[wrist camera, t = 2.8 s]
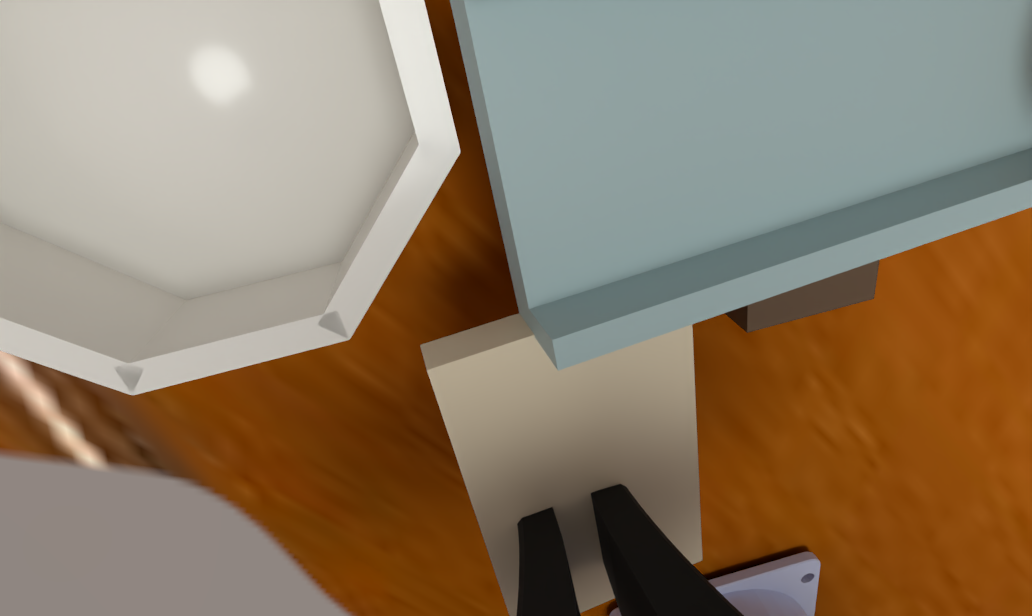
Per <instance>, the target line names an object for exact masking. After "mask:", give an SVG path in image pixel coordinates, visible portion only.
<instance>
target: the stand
mask: <svg viewBox="0 0 1032 616" xmlns="http://www.w3.org/2000/svg"><path fill="white" fill-rule="evenodd" d="M878 266H879V260H877V261H874V262H871V263H868V264H865V265H862V266H860V267H857V268H854V269H851V270H848V271H845V272H842V273H839V274H836V275H833V276H831V277H828V278H825V279H822V280H819V281H816V282H813V283H810V284H807V285H805V286H802V287H799V288H796V289H793V290H790V291H787V292H784V293H781V294H779V295H776V296H773V297H770V298H767V299H764V300H761V301H758V302H755V303H752V304H750V305H747V306H744V307H741V308H738V309H735V310H732V311H729V312H726V313H725V314H726V315H727V316H729V317H730V318H731V319H732V320H733V321H734V322H736V323H737V324H738V325H739V326H740V327H741V328H743V329H744V330H745V331H746V332H747V333H748V332H751V331H755V330H759V329H762V328H766V327H770V326H774V325H777V324H781V323H785V322H789V321H792V320H796V319H800V318H803V317H807V316H811V315H815V314H818V313H822V312H826V311H830V310H833V309H837V308H841V307H844V306H848V305H852V304H856V303H859V302H863V301H867V300H871V299H874V294H875V287H876V280H877V273H878Z"/></svg>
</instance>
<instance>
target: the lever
mask: <svg viewBox="0 0 1032 616" xmlns="http://www.w3.org/2000/svg"><path fill="white" fill-rule="evenodd" d="M450 3H451V7H452V12H453V16H454V21H455V25H456V30H457V35H458V39H459V44H460V48H461V53H462V57H463V62H464V66H465V71H466V75H467V80H468V84H469V89H470V93H471V98H472V102H473V107H474V111H475V116H476V120H477V125H478V129H479V134H480V138H481V143H482V147H483V152H484V156H485V161H486V165H487V170H488V174H489V179H490V183H491V188H492V192H493V197H494V201H495V206H496V210H497V215H498V219H499V224H500V228H501V233H502V237H503V242H504V246H505V251H506V255H507V260H508V264H509V269H510V273H511V278H512V282H513V287H514V291H515V296H516V300H517V305H518V310H519V313H518V314H515V315H512V316H509V317H506V318H502V319H499V320H496V321H493V322H490V323H487V324H484V325H481V326H478V327H474V328H471V329H468V330H465V331H462V332H459V333H456V334H453V335H450V336H446V337H443V338H440V339H437V340H434V341H431V342H428V343H425V344H422V345H420V347H421V350H422V354H423V358H424V362H425V366H426V369H427V373H428V375H429V378H430V381H431V384H432V387H433V390H434V393H435V396H436V399H437V402H438V405H439V408H440V411H441V414H442V417H443V420H444V423H445V426H446V429H447V432H448V435H449V438H450V441H451V444H452V447H453V449H454V452H455V455H456V458H457V461H458V464H459V467H460V470H461V473H462V476H463V479H464V482H465V485H466V488H467V491H468V494H469V497H470V500H471V503H472V506H473V509H474V512H475V515H476V518H477V521H478V523H479V526H480V529H481V532H482V535H483V538H484V541H485V544H486V547H487V550H488V553H489V556H490V559H491V562H492V565H493V568H494V571H495V574H496V577H497V580H498V583H499V586H500V589H501V592H502V595H503V598H504V600H505V603H506V606H507V609H508V612H509V615H510V616H516V615H517V602H518V588H519V537H518V526H517V524H518V522H519V521H520V520H521V518H523V517H526V516H529V515H531V514H534V513H537V512H540V511H542V510H545V509H548V508H551V507H553V510H554V513H555V516H556V519H557V522H558V525H559V528H560V531H561V535H562V538H563V542H564V546H565V550H566V555H567V559H568V563H569V568H570V572H571V577H572V581H573V585H574V590H575V594H576V598H577V603H578V607H579V611H580V613H582V612H584V611H586V610H589V609H591V608H593V607H595V606H598V605H600V604H602V603H605V602H607V601H609V600H612V599H614V598H615V596H614V593H613V590H612V587H611V584H610V581H609V578H608V575H607V572H606V569H605V566H604V563H603V558H602V553H601V547H600V542H599V536H598V531H597V525H596V520H595V514H594V509H593V503H592V498H591V493H592V492H595V491H597V490H601V489H604V488H608V487H611V486H615V485H618V484H622V485H624V486H626V487H627V488H628V489H629V491H630V492H631V494H632V495H633V496H634V498H635V499H636V500H637V502H638V503H639V504H640V506H641V507H642V508H643V509H644V511H645V512H646V513H647V514H648V515H649V517H650V518H651V519H652V520H653V521H654V523H655V524H656V525H657V526H658V527H659V528H660V530H661V531H662V532H663V533H664V534H665V535H666V537H667V538H668V539H669V540H670V541H671V542H672V543H673V544H674V545H675V547H676V548H677V549H678V550H679V551H680V552H681V553H682V554H683V555H684V556H685V557H686V558H687V559H688V560H689V562H690V563H691V564H692V565H693V564H695V563H697V562H700V561H702V538H701V515H700V491H699V468H698V445H697V422H696V398H695V375H694V352H693V328H692V324H695V323H697V322H700V321H703V320H706V319H709V318H712V317H715V316H718V315H721V314H724V313H726V312H729V311H732V310H735V309H738V308H741V307H744V306H747V305H750V304H752V303H755V302H758V301H761V300H764V299H767V298H770V297H773V296H776V295H779V294H781V293H784V292H787V291H790V290H793V289H796V288H799V287H802V286H805V285H807V284H810V283H813V282H816V281H819V280H822V279H825V278H828V277H831V276H833V275H836V274H839V273H842V272H845V271H848V270H851V269H854V268H857V267H860V266H862V265H865V264H868V263H871V262H874V261H877V260H880V259H883V258H886V257H888V256H891V255H894V254H897V253H900V252H903V251H906V250H909V249H912V248H914V247H917V246H920V245H923V244H926V243H929V242H932V241H935V240H938V239H941V238H943V237H946V236H949V235H952V234H955V233H958V232H961V231H964V230H967V229H969V228H972V227H975V226H978V225H981V224H984V223H987V222H990V221H993V220H996V219H998V218H1001V217H1004V216H1007V215H1010V214H1013V213H1016V212H1019V211H1022V210H1024V209H1027V208H1030V207H1032V0H450Z"/></svg>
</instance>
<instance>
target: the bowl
mask: <svg viewBox="0 0 1032 616" xmlns="http://www.w3.org/2000/svg"><path fill="white" fill-rule="evenodd" d="M460 153H461V150H460V146H459V142H458V138H457V134H456V130H455V126H454V122H453V117H452V113H451V109H450V105H449V101H448V97H447V93H446V88H445V84H444V80H443V76H442V72H441V68H440V64H439V60H438V55H437V51H436V47H435V43H434V39H433V35H432V31H431V26H430V22H429V18H428V14H427V10H426V6H425V2H424V0H0V351H3V352H6V353H9V354H12V355H15V356H18V357H21V358H24V359H27V360H29V361H32V362H35V363H38V364H41V365H44V366H47V367H50V368H53V369H56V370H59V371H62V372H65V373H68V374H71V375H74V376H76V377H79V378H82V379H85V380H88V381H91V382H94V383H97V384H100V385H103V386H106V387H109V388H112V389H115V390H118V391H121V392H123V393H126V394H129V395H136V394H140V393H144V392H148V391H152V390H156V389H160V388H164V387H168V386H171V385H175V384H179V383H183V382H187V381H191V380H195V379H199V378H203V377H206V376H210V375H214V374H218V373H222V372H226V371H230V370H234V369H238V368H242V367H245V366H249V365H253V364H257V363H261V362H265V361H269V360H273V359H277V358H281V357H284V356H288V355H292V354H296V353H300V352H304V351H308V350H312V349H316V348H320V347H323V346H327V345H331V344H335V343H339V342H343V341H347V340H350V338H351V337H352V335H353V333H354V332H355V330H356V328H357V327H358V325H359V323H360V322H361V320H362V318H363V316H364V315H365V313H366V311H367V310H368V308H369V306H370V305H371V303H372V301H373V300H374V298H375V296H376V295H377V293H378V291H379V289H380V288H381V286H382V284H383V283H384V281H385V279H386V278H387V276H388V274H389V273H390V271H391V269H392V268H393V266H394V264H395V262H396V261H397V259H398V257H399V256H400V254H401V252H402V251H403V249H404V247H405V246H406V244H407V242H408V240H409V239H410V237H411V235H412V234H413V232H414V230H415V229H416V227H417V225H418V224H419V222H420V220H421V219H422V217H423V215H424V213H425V212H426V210H427V208H428V207H429V205H430V203H431V202H432V200H433V198H434V197H435V195H436V193H437V191H438V190H439V188H440V186H441V185H442V183H443V181H444V180H445V178H446V176H447V175H448V173H449V171H450V170H451V168H452V166H453V164H454V163H455V161H456V159H457V158H458V156H459V154H460Z"/></svg>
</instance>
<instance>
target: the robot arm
mask: <svg viewBox="0 0 1032 616" xmlns="http://www.w3.org/2000/svg"><path fill="white" fill-rule="evenodd" d="M591 498H592V503H593V509H594V514H595V520H596V525H597V531H598V536H599V542H600V547H601V553H602V558H603V563H604V566H605V569H606V572H607V575H608V578H609V581H610V584H611V587H612V590H613V593H614V596H615V599H616V602H617V605H618V608H615V609H614V610H613V611H612V612H611V613H610V615H609V616H814V614H815V606H816V598H817V589H818V581H819V573H820V565H821V564H820V561H819V560H818V558H817V557H816V556H815V555H814V554H813V553H812V552H801V553H798V554H795V555H791V556H788V557H785V558H781V559H778V560H775V561H771V562H768V563H764V564H761V565H758V566H754V567H751V568H748V569H744V570H741V571H738V572H734V573H731V574H727V575H724V576H721V577H717V578H714V579H711V580H707V579H706V578H705V577H704V576H703V575H702V574H701V573H700V572H699V571H698V570H697V569H696V568H695V567H694V566H693V565H692V564H691V563H690V562H689V560H688V559H687V558H686V557H685V556H684V555H683V554H682V553H681V552H680V551H679V550H678V549H677V548H676V547H675V545H674V544H673V543H672V542H671V541H670V540H669V539H668V538H667V537H666V535H665V534H664V533H663V532H662V531H661V530H660V528H659V527H658V526H657V525H656V524H655V523H654V521H653V520H652V519H651V518H650V517H649V515H648V514H647V513H646V512H645V511H644V509H643V508H642V507H641V506H640V504H639V503H638V502H637V500H636V499H635V498H634V496H633V495H632V494H631V492H630V491H629V489H628V488H627V487H626V486H624V485H622V484H618V485H615V486H611V487H608V488H604V489H601V490H597V491H595V492H592V493H591ZM517 526H518V537H519V588H518V602H517V615H516V616H580V611H579V607H578V603H577V598H576V594H575V590H574V585H573V581H572V577H571V572H570V568H569V563H568V559H567V555H566V550H565V546H564V542H563V538H562V535H561V531H560V528H559V525H558V522H557V519H556V516H555V513H554V510H553V507H551V508H548V509H545V510H542V511H540V512H537V513H534V514H531V515H529V516H526V517H523V518H521V520H520V521H519V522H518V524H517Z"/></svg>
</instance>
